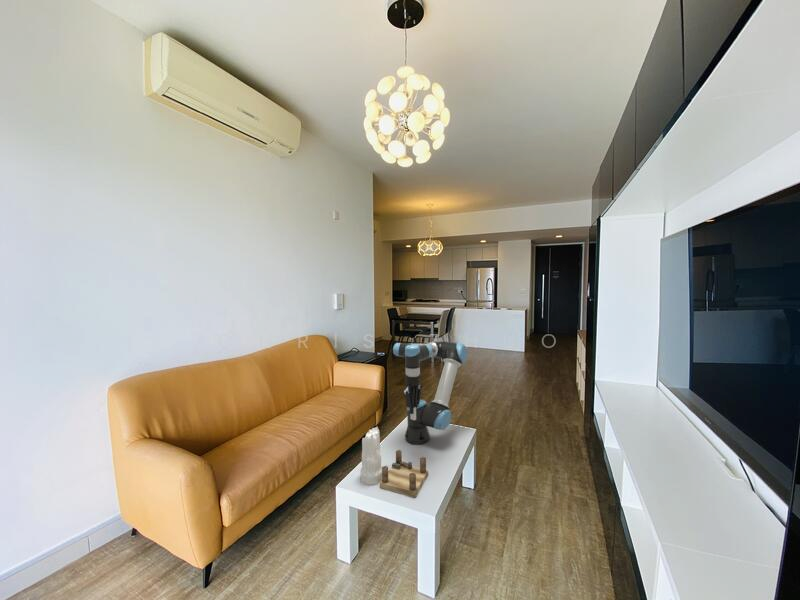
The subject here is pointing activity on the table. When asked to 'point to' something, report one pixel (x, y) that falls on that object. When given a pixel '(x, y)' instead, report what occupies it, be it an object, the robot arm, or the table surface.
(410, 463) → the hinged leg
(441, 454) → the table surface
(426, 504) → the table surface
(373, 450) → the white tall rough piece
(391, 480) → the stool seat
